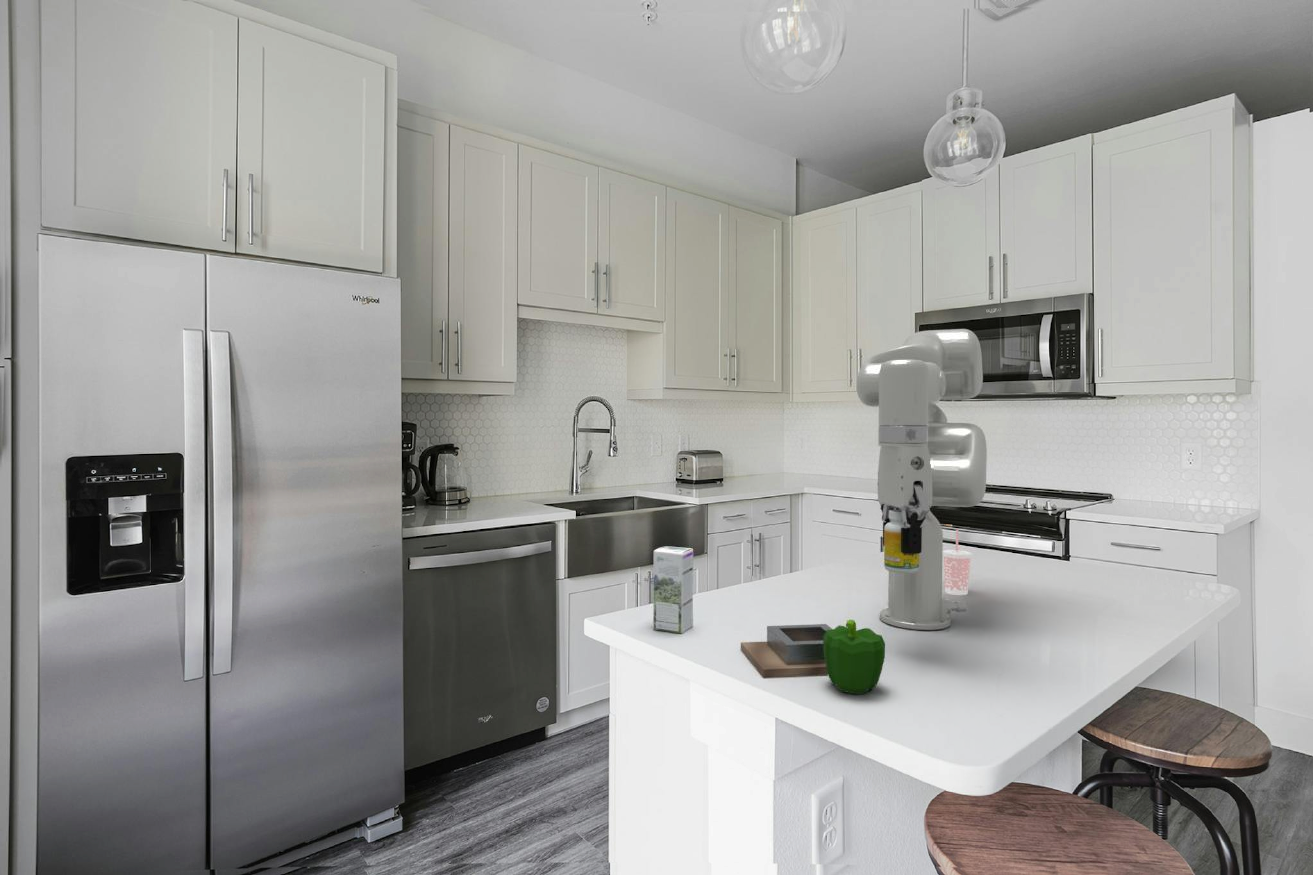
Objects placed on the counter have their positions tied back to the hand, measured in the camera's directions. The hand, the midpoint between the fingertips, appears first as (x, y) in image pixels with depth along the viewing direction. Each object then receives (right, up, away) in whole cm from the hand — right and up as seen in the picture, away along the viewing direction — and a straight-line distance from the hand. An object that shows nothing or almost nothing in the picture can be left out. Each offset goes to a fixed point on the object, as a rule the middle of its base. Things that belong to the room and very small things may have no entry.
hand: (901, 548), depth 115 cm
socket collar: (-16, -16, -3) cm, 23 cm away
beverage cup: (+27, -17, +43) cm, 54 cm away
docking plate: (-16, -17, -3) cm, 24 cm away
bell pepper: (-12, -18, -14) cm, 26 cm away
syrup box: (-36, -17, +14) cm, 43 cm away
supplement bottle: (0, -4, 0) cm, 4 cm away
